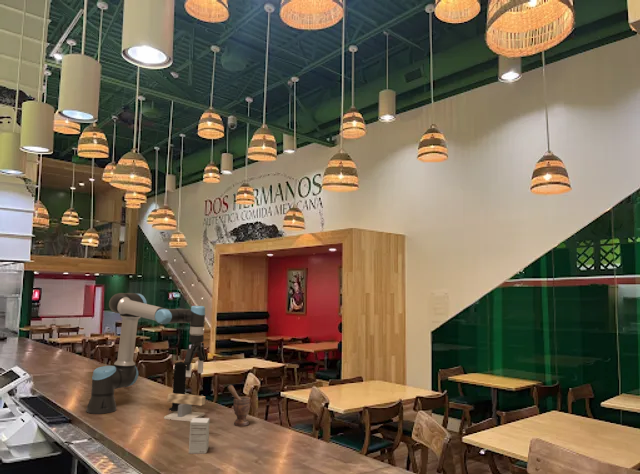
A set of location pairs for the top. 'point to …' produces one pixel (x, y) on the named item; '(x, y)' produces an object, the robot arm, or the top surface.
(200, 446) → the supplement box
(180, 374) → the handle grip
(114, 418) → the top surface
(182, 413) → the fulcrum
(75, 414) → the top surface
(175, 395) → the maple bar
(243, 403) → the mortar and pestle
